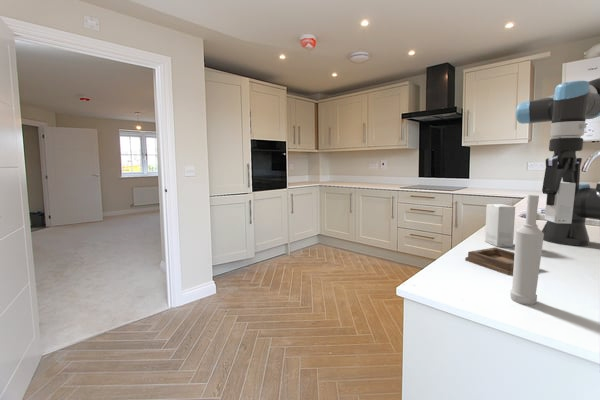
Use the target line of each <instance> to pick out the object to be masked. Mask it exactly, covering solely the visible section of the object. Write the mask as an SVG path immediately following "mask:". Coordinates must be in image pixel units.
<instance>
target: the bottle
mask: <svg viewBox="0 0 600 400" xmlns="http://www.w3.org/2000/svg"><path fill="white" fill-rule="evenodd" d="M539 199H540V195H537V194H527V200H526V201H527V202H526V203H527V205H526V214H525V222H524V223H523V224H522V226H521V227H518V229H515V243H514V253H515V255H514V269H513V274H512V283H511V284H512V285H511V289H510V296H509V297H510V299H511V300H512V301H513V302H515V303H518V304H522V305H527V306H533V305H535V304H536V303H537V300H538V295H537V288H538V281H539V273H540V266H541V260H542V259H541V258H542V251H543V244H544V240H543V237H544V233H543V232H542V230H541V229H540V228H539V227H538V225H537V217H538V209H539V208H538V206H539V201H540V200H539Z"/></svg>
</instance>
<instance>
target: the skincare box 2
mask: <svg viewBox="0 0 600 400" xmlns="http://www.w3.org/2000/svg"><path fill="white" fill-rule="evenodd" d="M575 186H576V183H569V182H563V181H561V183H560V186H559V189H558V192H557V194H556V195H559V200H558V209H557V217H552V216H545V215H544V220H546V221H547V220H548V221H551V222H554V223H567V224H571V223H572V214H573V205H574V195H575Z"/></svg>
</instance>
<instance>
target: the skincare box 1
mask: <svg viewBox="0 0 600 400" xmlns="http://www.w3.org/2000/svg"><path fill="white" fill-rule="evenodd" d="M515 216H516V206H514V205H508V204H504V203H494V204H492V203H489V204H486V211H485V230H484V231H485V233H484V235H485V236H484V243H487V244H490V245H492V246H494V247H496V248H510V247H511V248H512V247H514V237H515V218H516V217H515Z"/></svg>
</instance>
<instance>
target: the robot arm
mask: <svg viewBox="0 0 600 400" xmlns="http://www.w3.org/2000/svg"><path fill="white" fill-rule="evenodd" d="M599 117H600V77H598V78H596V79H591V80H590V81H587V80H574V81H566V82H562V83H560V84H557V86H556V87H555V89H554V94H552V95H548V96H546V97H543V98H540V99H534V100H527V101H522V102H520V103H519V104H518V105H517V106H516V109H515V118H516V121H517V123H519V124H523V125H524V124H530V125H531V124H535V123H537V124H538V123H545V122H546V123H548V122H551V126H550V133H549V135H550V136H549V137H550V138H551V139H549V145H548V150H549V152H553V155H552V157H550V158H549V157H548V158H546V159H545V170H544V177H543V181H542V189H541V191H542V193H543V194H545V195H546V201H545V210H544V217H545V216H552V217H557V209H558V200H559V195H556V194H557V192H558V189H559V186H560V183H561V182H569V183H576V186H575V195H574V205H573V214H572V223H571V224H567V223H554V222H551V221H548V220H546V222H545V224H544V226H543V228H542V230H541V231H542V232H543V233H544V237H543V241H547V242H551V243H554V244H560V245H566V246H567V245H569V246H588V245H589V243H590V235H589V233H588V230H587V227H586V220H587V219H589V220H592V219H593V220H597V221H598V220H599V221H600V181H597V183H596V186H595V187H596V188H595V187H594V188H593V187H591V186H590V183H581V184H580V180H581V179H580V176H581V175H580V174H581V165H582V161H583V159H582V158H581V157H577V154H576V152H581V151H583V147H584V138H583V137H582V136H584V134H585V128H586V127H587V124H586V121H587V120H590V119H595V118H599Z"/></svg>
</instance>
